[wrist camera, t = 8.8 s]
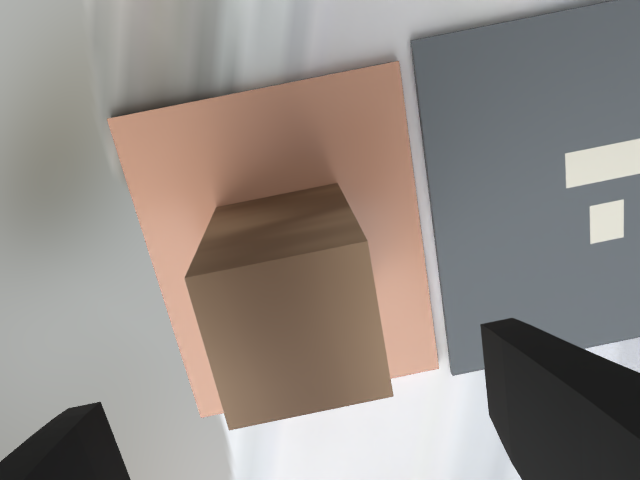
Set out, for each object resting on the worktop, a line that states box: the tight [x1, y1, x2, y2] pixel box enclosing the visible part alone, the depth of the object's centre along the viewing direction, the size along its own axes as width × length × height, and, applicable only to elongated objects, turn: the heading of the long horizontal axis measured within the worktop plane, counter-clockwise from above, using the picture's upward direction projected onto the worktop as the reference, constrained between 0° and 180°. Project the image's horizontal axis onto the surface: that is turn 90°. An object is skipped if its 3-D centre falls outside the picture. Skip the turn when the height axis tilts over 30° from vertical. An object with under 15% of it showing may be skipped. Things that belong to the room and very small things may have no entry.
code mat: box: [411, 0, 640, 376], centre depth 18 cm, size 12×12×1 cm
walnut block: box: [184, 183, 393, 430], centre depth 15 cm, size 4×4×6 cm
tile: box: [107, 61, 439, 418], centre depth 18 cm, size 9×11×1 cm
